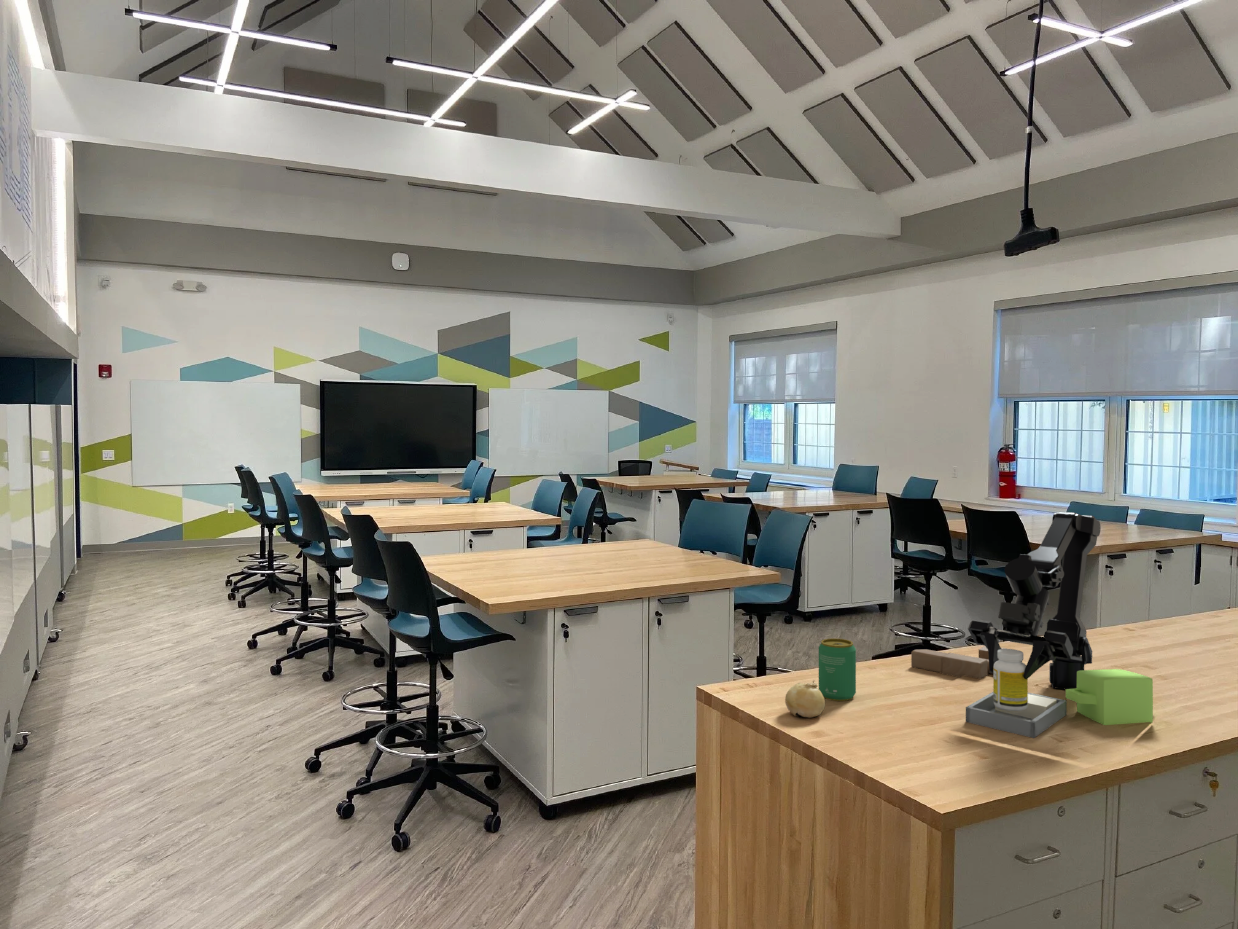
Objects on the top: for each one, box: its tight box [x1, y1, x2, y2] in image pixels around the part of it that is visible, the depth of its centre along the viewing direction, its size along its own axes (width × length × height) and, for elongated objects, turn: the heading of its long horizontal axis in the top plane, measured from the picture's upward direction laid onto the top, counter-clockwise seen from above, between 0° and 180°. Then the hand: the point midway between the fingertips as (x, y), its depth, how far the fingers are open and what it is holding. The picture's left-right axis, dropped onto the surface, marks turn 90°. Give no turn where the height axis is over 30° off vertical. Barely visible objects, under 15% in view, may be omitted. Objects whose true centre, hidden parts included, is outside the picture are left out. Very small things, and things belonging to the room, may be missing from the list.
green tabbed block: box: [1065, 668, 1154, 726], centre depth 174 cm, size 18×10×10 cm, turn 98°
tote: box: [965, 691, 1068, 739], centre depth 172 cm, size 18×13×4 cm
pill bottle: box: [992, 648, 1029, 711], centre depth 169 cm, size 6×6×11 cm
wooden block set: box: [910, 645, 1008, 680], centre depth 211 cm, size 17×6×18 cm
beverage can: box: [818, 638, 857, 702], centre depth 189 cm, size 8×8×12 cm
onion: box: [784, 680, 826, 718], centre depth 177 cm, size 8×8×7 cm
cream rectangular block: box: [995, 694, 1057, 719], centre depth 175 cm, size 6×10×3 cm, turn 45°
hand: (1007, 675), depth 168 cm, fingers closed on pill bottle, 6 cm apart
